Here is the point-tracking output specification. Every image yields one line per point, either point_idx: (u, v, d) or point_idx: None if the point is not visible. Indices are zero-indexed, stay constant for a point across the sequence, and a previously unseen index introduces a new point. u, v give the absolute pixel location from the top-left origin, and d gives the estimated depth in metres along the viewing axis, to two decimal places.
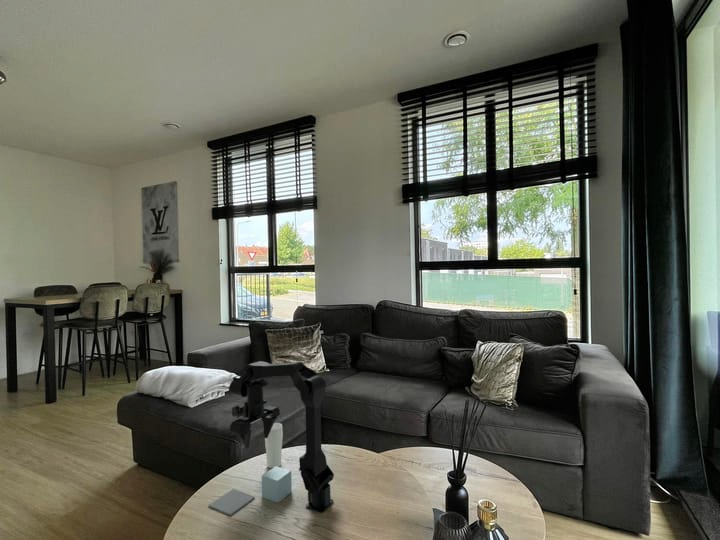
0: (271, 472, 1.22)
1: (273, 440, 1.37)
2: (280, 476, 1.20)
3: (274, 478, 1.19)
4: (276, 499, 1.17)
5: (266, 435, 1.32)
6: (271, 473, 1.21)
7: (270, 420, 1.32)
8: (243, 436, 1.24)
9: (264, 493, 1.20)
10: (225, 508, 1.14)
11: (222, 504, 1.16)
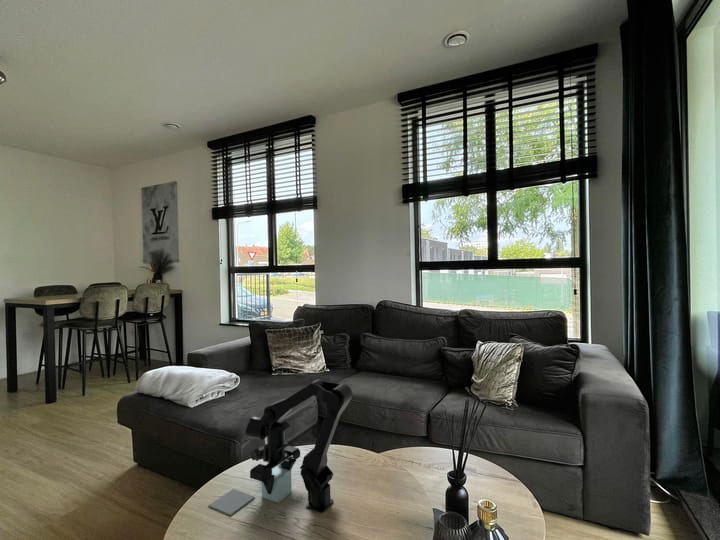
0: None
1: None
2: (280, 476, 1.20)
3: (274, 478, 1.19)
4: (276, 499, 1.17)
5: None
6: None
7: (289, 464, 1.24)
8: (266, 481, 1.18)
9: (264, 493, 1.20)
10: (225, 508, 1.14)
11: (222, 504, 1.16)
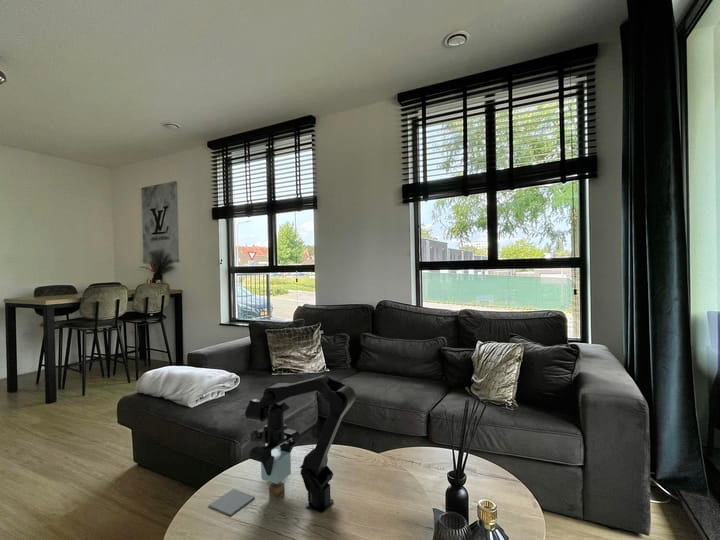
0: None
1: None
2: (279, 458, 1.20)
3: (274, 459, 1.19)
4: (275, 480, 1.17)
5: None
6: None
7: (288, 446, 1.24)
8: (265, 462, 1.18)
9: (264, 474, 1.20)
10: (225, 508, 1.14)
11: (222, 504, 1.16)
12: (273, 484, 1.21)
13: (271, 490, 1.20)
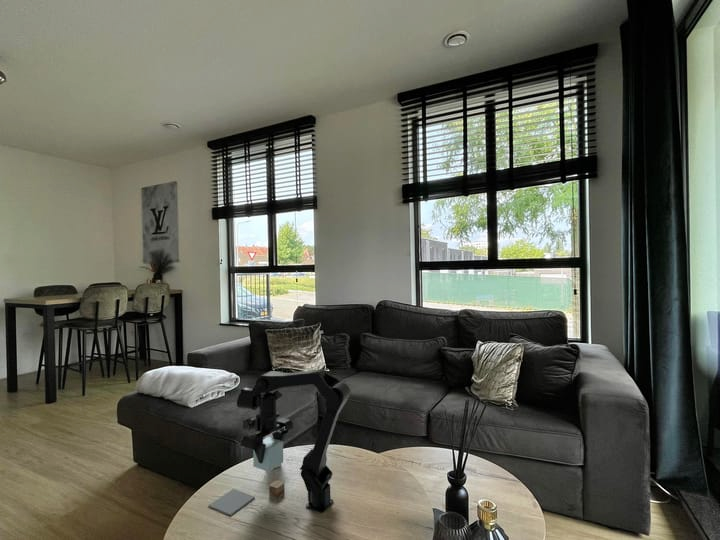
0: (263, 442, 1.22)
1: None
2: (272, 446, 1.19)
3: (266, 447, 1.18)
4: (267, 468, 1.17)
5: None
6: None
7: (281, 435, 1.24)
8: (257, 450, 1.17)
9: (256, 462, 1.19)
10: (225, 508, 1.14)
11: (222, 504, 1.16)
12: (273, 484, 1.21)
13: (271, 490, 1.20)
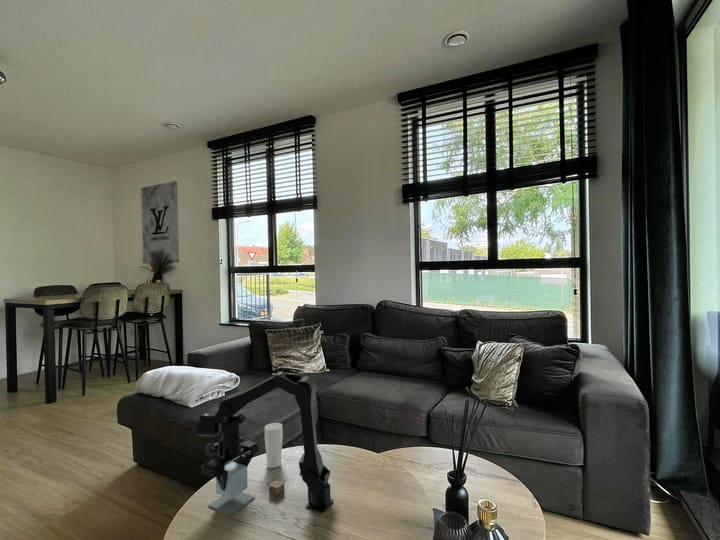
0: (226, 468, 1.18)
1: (273, 440, 1.37)
2: (234, 472, 1.16)
3: (228, 473, 1.15)
4: (229, 495, 1.13)
5: None
6: (226, 469, 1.18)
7: (245, 460, 1.20)
8: (219, 477, 1.14)
9: (218, 489, 1.16)
10: (225, 508, 1.14)
11: (222, 504, 1.16)
12: (273, 484, 1.21)
13: (271, 490, 1.20)
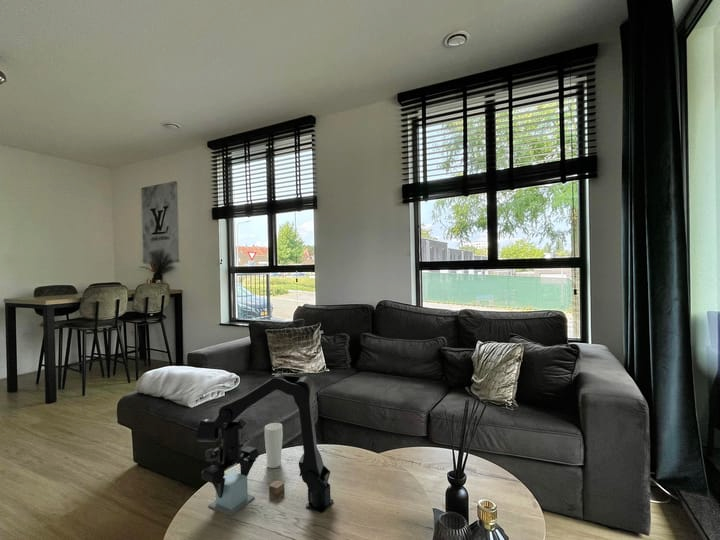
0: (226, 478, 1.18)
1: (273, 440, 1.37)
2: (235, 482, 1.16)
3: (228, 484, 1.15)
4: (230, 506, 1.13)
5: None
6: (226, 479, 1.18)
7: (247, 463, 1.21)
8: (216, 484, 1.13)
9: (218, 499, 1.16)
10: (225, 508, 1.14)
11: None
12: (273, 484, 1.21)
13: (271, 490, 1.20)
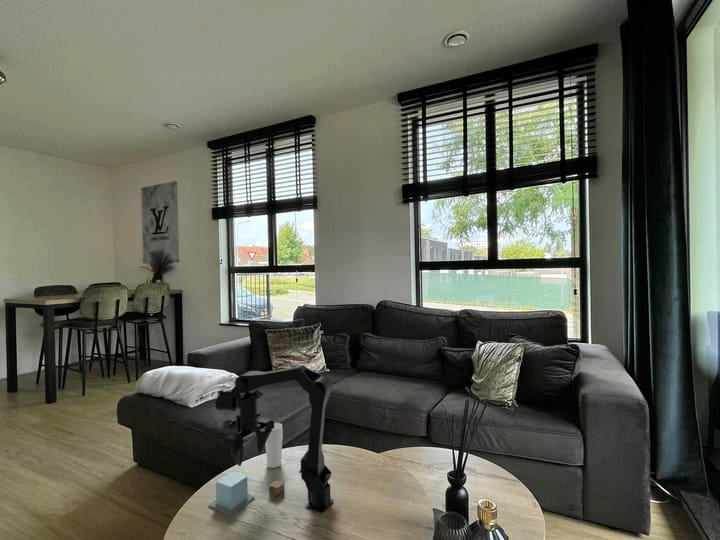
0: (226, 478, 1.18)
1: (273, 440, 1.37)
2: (235, 482, 1.16)
3: (228, 484, 1.15)
4: (230, 506, 1.13)
5: (260, 450, 1.24)
6: (226, 479, 1.18)
7: (264, 434, 1.24)
8: (235, 452, 1.15)
9: (218, 499, 1.16)
10: (225, 508, 1.14)
11: None
12: (273, 484, 1.21)
13: (271, 490, 1.20)
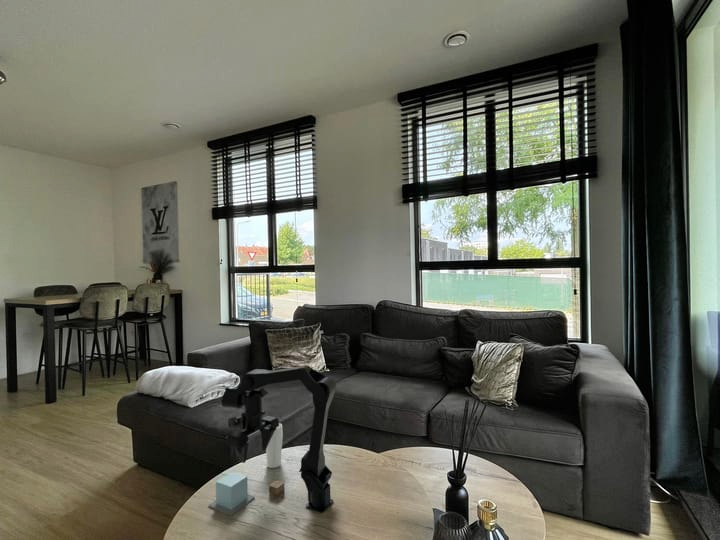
0: (226, 478, 1.18)
1: (273, 440, 1.37)
2: (235, 482, 1.16)
3: (228, 484, 1.15)
4: (230, 506, 1.13)
5: (264, 447, 1.25)
6: (226, 479, 1.18)
7: (269, 432, 1.25)
8: (240, 449, 1.16)
9: (218, 499, 1.16)
10: (225, 508, 1.14)
11: None
12: (273, 484, 1.21)
13: (271, 490, 1.20)
